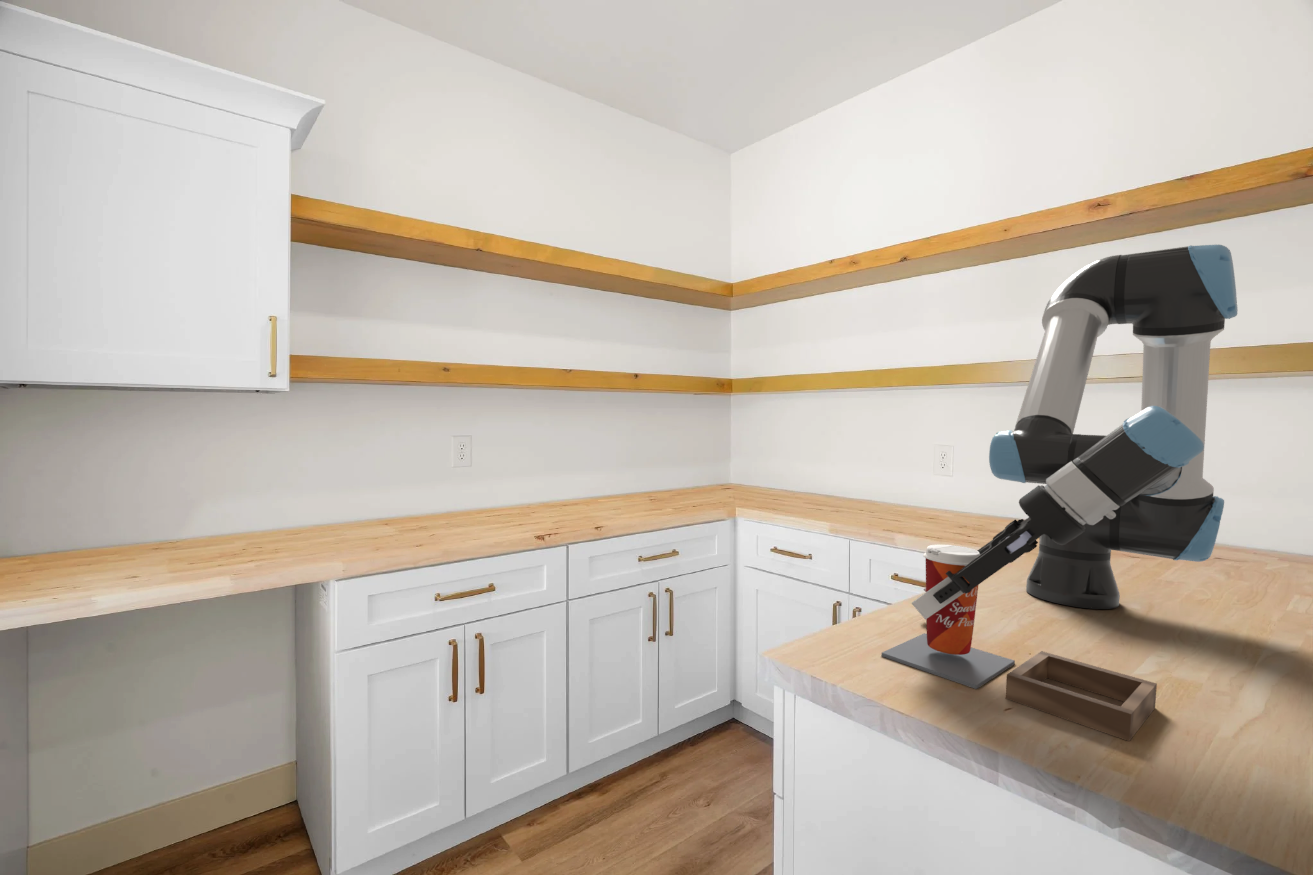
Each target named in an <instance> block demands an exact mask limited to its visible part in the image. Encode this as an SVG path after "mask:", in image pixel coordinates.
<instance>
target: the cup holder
mask: <svg viewBox="0 0 1313 875" xmlns="http://www.w3.org/2000/svg"><path fill="white" fill-rule="evenodd" d="M1046 679H1050V680H1052V681H1055V682H1059V683H1062V684H1066V685H1069V686H1072V687H1076V688H1079V689H1082V690H1084V691H1088V692H1091V693H1094V694H1098V695H1100V696H1104V697H1108V698H1110V699H1113V700H1116V701H1117V700H1118V701H1121V702H1123V703H1122V704H1121V705H1120V706H1119V705H1116V704H1113V703H1110V702H1107V701H1104V700H1100V699H1099V698H1098V699H1097V698H1094V697H1091V696H1088V695H1084V694H1083V693H1082V694H1081V693H1079V692H1075V691H1072V690H1068V689H1066V688H1062V687H1059V686H1057V685H1053V684H1050V683H1047V682H1044V681H1045V680H1046ZM1157 687H1158V683H1157V682H1153V681H1150V680H1149V681H1148V680H1145V679H1142V678H1138V677H1135V676H1133V675H1132V676H1131V675H1128V674H1124V673H1121V672H1118V671H1114V670H1110V669H1107V668H1104V667H1103V668H1102V667H1099V666H1096V665H1093V664H1088V663H1085V662H1082V661H1078V660H1075V659H1071V658H1068V657H1064V656H1060V655H1058V654H1057V655H1056V654H1053V653H1050V652H1047V651H1043V650H1041V651H1039V652H1038V653H1037V654H1035V655H1033V656H1031V657H1030V658H1029V659H1028V660H1026V661H1025V662H1023V663H1021V664H1020V665H1018V666H1017V667H1016V668H1014V669H1012V670H1011V671H1009V673H1007V674H1006V680H1005V696H1004V697H1005V699H1006V700H1009V701H1012V702H1015V703H1018V704H1020V705H1024V706H1027V707H1029V708H1032V709H1035V710H1039V711H1041V712H1044V713H1047V714H1050V715H1052V716H1055V717H1059V718H1060V719H1064V720H1067V721H1070V722H1072V723H1076V724H1078V725H1081V726H1084V727H1087V728H1090V729H1092V730H1096V731H1099V732H1102V733H1104V734H1107V735H1110V736H1113V737H1116V738H1119V739H1122V740H1125V741H1128V742H1130V741H1131V740H1132V738H1133V737H1134V736H1135V735H1136V733H1137V732H1138V731H1139V729H1140V728H1141V727H1142V725H1144V722H1146V720H1147V719H1148V718H1149V717H1150V715H1151V714H1152V712H1154V710H1155V709H1156V701H1157V700H1156V698H1157Z"/></svg>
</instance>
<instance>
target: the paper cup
mask: <svg viewBox="0 0 1313 875" xmlns="http://www.w3.org/2000/svg"><path fill="white" fill-rule="evenodd" d="M977 550H978V549H974V548H970V547H966V546H960V545H953V544H952V545H951V544H930V545H928V546H927V547H926V551H925V552H924V553H923V555H922V556H923V558H925V588H926V592H927V591H929V590H930V589H931V588H933V587H934V586H936V585H937V584H938V583H940V582H941V581H943V580H944V579H946V578H947V577H948V576H947V575H946V573H947V572H948V571H951V572H952V574H955V573H957V572H958V571H959V570H961V569H962V568H963V567H965V566H966V565H967V564H969V563H970V562H971V561H973V560H974V559H975V558H977V557H978V556H979V555H980V553H979V552H978V551H977ZM962 577H963V576H962ZM963 578H964V577H963ZM964 579H965V578H964ZM965 580H966V579H965ZM966 581H967V580H966ZM967 582H968V581H967ZM968 583H969V582H968ZM978 591H979V585H977V586H976V587H974V588H973V589H972V590H971V591H970V592H969V593H964V594H962V595H961V596H959V597H958V598H956V599H955V600H953V601H952V602H950V603H949V604H947V605H946V606H945V607H943V608H942V609H940V610H939V611H937V612H936V613H934V614H933V615H931V616H930V617H929V618H927V619H926V622H925V623H926V624H925V625H926V634H927V644H928V646H929V647H930V648H932V649H934V650H937V651H939V652H943V653H947V654H954V655H963V654H968V653H969V652H970V649H971V647H972V642H973V634H974V626H975V618H976V609H977V600H978ZM926 592H925V593H926Z"/></svg>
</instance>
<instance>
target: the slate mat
mask: <svg viewBox="0 0 1313 875" xmlns="http://www.w3.org/2000/svg"><path fill="white" fill-rule="evenodd" d="M881 657H883V658H885V659H886V658H887V659H888V660H892V661H894V662H897V663H900V664H903V665H906V666H909V667H912V668H914V669H917V670H920V671H923V672H925V673H929V674H932V675H935V676H938V677H940V678H943V679H945V680H949V681H952V682H954V683H958V684H961V685H964V686H966V687H969V688H971V689H975V690H977V689H979V688H980V687H982V686H983V685H985V684H986V683H988V682H989V681H991V680H993V679H994V678H995V677H997V676H999V675H1000V674H1002V673H1003V672H1005V671H1006V670H1008V669H1010V668H1011V667H1012V666H1014V665H1015V664H1016V663H1015V661H1016V660H1015V659H1012V658H1008V657H1004V656H1001V655H998V654H994V653H991V652H988V651H984V650H981V649H978V648H975V647H972V646H971V649H970V652H969V653H968V654H963V655H954V654H947V653H943V652H939V651H937V650H934V649H932V648H930V647H929V646H928V644H927V633H926V632H924V633H922V634H919V635H917V636H915V637H913V638H910V639H908V640H906V641H905V642H902V643H899V644H896V645H895V646H893V647H891V648H889V649H886V650H883V651H882V652H881Z"/></svg>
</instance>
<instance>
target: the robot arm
mask: <svg viewBox="0 0 1313 875" xmlns="http://www.w3.org/2000/svg"><path fill="white" fill-rule="evenodd" d="M1233 262H1234V261H1233V256H1232V252H1231V250H1230V248H1229V247H1227V246H1225V245H1222V244H1205V245H1204V244H1203V245H1188V246H1181V247H1180V246H1179V247H1173V248H1166V249H1158V250H1152V251H1145V252H1137V253H1128V254H1117V255H1111V256H1106V257H1104V258H1100V259H1098V260H1095V261H1093V262H1090V263H1089V264H1087V265H1085V266H1084V267H1082V268H1081V269H1079V270H1077V271H1075V273H1072V275H1071V276H1069V277H1068V278H1067V279H1066V280H1065V281H1064V282H1063V283H1062V284H1061V285H1060V286H1059V287H1058V288H1057V289H1056V290H1055V291H1054V292H1053V294H1052V296H1051V297H1050V298H1049V300H1048V302H1047V303H1046V306H1045V307H1044V308H1045V309H1044V311H1043V314H1042V319H1041V324H1042V325H1041V326H1042V328H1043V330H1044V334H1043V337H1042V340H1041V343H1040V347H1039V350H1038V353H1037V356H1036V359H1035V363H1034V365H1033V369H1032V372H1031V375H1030V378H1029V382H1028V384H1027V388H1026V390H1025V393H1024V397H1023V400H1022V403H1021V407H1020V409H1019V413H1018V416H1017V420H1016V423H1015V426H1014V429H1013V430H1012V429H1010V430H1009V429H1008V430H1003V431H1002V430H999V431H997V432H996V433H995V434H994V435H993V437H992V439H991V442H990V445H989V453H988V462H989V467H990V471H991V473H992V475H993V476H994V477H995V478H997V479H1000V480H1003V481H1004V480H1005V481H1011V482H1017V483H1021V484H1026V483H1029V484H1030V483H1031V484H1038V485H1037V486H1035V487H1034V488H1033V489H1031V490H1030V491H1029V492H1027V493H1026V494H1025V495H1023V496H1022V497H1021V498H1020V499H1019V500H1018V505H1019V507H1020V508H1021V510H1022V511H1023V513H1024V514H1026V515H1027V518H1026V519H1023V518H1022V519H1018V520H1017V519H1014V520H1012V521H1011V522H1009V523H1008V524H1007V525H1006V526H1005V527H1004V529H1002V530H1001V531H1000V532H998V533H997V534H995V535H994V536H993V538H992V539H991V540H990V541H988V542H987V543H986V544H984V545H983V546H982V547H980V548H978V549H976V550H977V551H978V552H979V553H980V555H979V556H978V557H977V558H975V559H974V560H973V561H971V562H970V563H969V564H967V565H966V566H965V567H963V568H962V569H961V570H959V571H958V572H957V573H955V574H952V572H951V571H948V572H947V573H946V575H947V576H948V577H947V578H946V579H944V580H943V581H941V582H940V583H938V584H937V585H936V586H934V587H933V588H931V589H930V590H929V591H927V592H926V587H925V588H923V591H924V593H923V594H922V595H920V596H918V597H917V598H916V599H915V600H913V601H912V602H911V605H912V606H913V607H914V608H915V610H916V611H918V613H919V614H920V615H921V616H922V617H923V618H924V621H925V620H926V619H927V618H929V617H930V616H931V615H933V614H934V613H936V612H937V611H939V610H940V609H942V608H943V607H945V606H946V605H947V604H949V603H950V602H952V601H953V600H955V599H956V598H958V597H959V596H961V595H962V594H964V593H969V592H970V591H971V590H972V589H973V588H974V587H976V586H977V585H978V586H979V585H981V583H983V582H985V581H986V580H987V579H988V578H990V577H991V576H993V575H994V574H996V573H997V572H999V571H1000V570H1001V569H1003V568H1004V567H1006V566H1007V565H1009V564H1012V563H1014V561H1016V560H1017V559H1019V558H1020V557H1022V555H1024V554H1028V553H1030V552H1031V551H1033V550H1034V549H1036V548H1037V547H1038V554H1037V556H1036V559H1035V560H1034V563H1033V565H1032V568H1031V570H1030V572H1029V574H1028V576H1027V579H1026V586H1025V588H1026V589H1025V591H1026V592H1027V593H1028V594H1029V595H1031V596H1033V597H1036V598H1038V599H1040V600H1044V601H1048V602H1050V603H1055V604H1058V605H1059V604H1060V605H1063V606H1068V607H1074V608H1075V607H1076V608H1082V609H1094V610H1111V609H1116V608H1119V606H1120V600H1121V599H1120V598H1121V597H1120V595H1121V594H1120V590H1119V588H1118V584H1117V581H1116V579H1115V575H1114V572H1113V569H1112V564H1111V557H1112V554H1111V553H1112V551H1117V552H1118V551H1119V552H1123V553H1130V554H1131V553H1132V554H1137V555H1144V556H1148V557H1149V556H1151V557H1155V558H1156V557H1157V558H1164V559H1171V560H1173V561H1188V562H1196V563H1197V562H1198V563H1199V562H1205V561H1207V560H1208V559H1210V558H1211V556H1212V554H1213V551H1214V548H1215V544H1216V542H1217V538H1218V533H1219V529H1220V525H1221V521H1222V515H1223V512H1224V508H1225V507H1224V506H1225V499H1223V498H1222V497H1219V496H1218V495H1214V491H1215V489H1214V486H1213V485H1212V484H1211V483H1210V482H1208V480H1206V479H1205V478H1204V477H1203V476H1204V460H1205V444H1206V443H1205V441H1206V439H1205V438H1206V429H1207V428H1206V427H1207V426H1206V425H1207V411H1208V410H1207V409H1208V408H1207V406H1208V390H1209V377H1210V375H1209V374H1210V357H1211V343H1212V341H1213V339H1214V338H1215V337H1216V336H1218V335H1219V334H1220V333H1222V332H1223V331H1224V330H1225V324H1226V319H1227V320H1230V319H1233V318H1236V317H1237V316H1238V304H1237V303H1238V300H1237V299H1238V298H1237V287H1236V277H1235V269H1234V263H1233ZM1124 324H1125V325H1127V324H1128V325H1129V324H1131V325H1132V335H1133V336H1134V337H1135V338H1136V339H1138V340H1139V341H1141V343H1142V344H1143V350H1142V352H1143V353H1142V375H1141V376H1142V377H1141V378H1142V379H1141V380H1142V382H1141V383H1142V384H1141V409H1140V411H1139V412H1137V413H1136V414H1135V415H1133V416H1131V417H1128V418H1126V419H1125V420H1124V421H1123V422H1122V423H1121V424H1120V425H1119V426H1118V427H1116V428H1115V429H1114V430H1113V431H1111V432H1109V434H1107V435H1102V434H1101V435H1099V434H1097V435H1096V434H1081V433H1079V434H1075V433H1074V431H1075V428H1076V423H1077V420H1078V414H1079V411H1080V407H1081V404H1082V400H1083V395H1084V392H1085V387H1086V384H1087V379H1088V376H1089V372H1090V368H1091V363H1092V360H1093V356H1094V353H1095V348H1096V345H1097V342H1098V341H1097V340H1098V338H1099V337H1100V336H1101V335H1102V334H1103V333H1105V331H1106V330H1107V329H1108V327H1109V326H1111V325H1124ZM1039 484H1042V485H1039ZM1044 485H1045V486H1044ZM1038 539H1039V540H1038ZM1037 540H1038V541H1039V542H1038V541H1037ZM962 576H963V577H964V578H965V579H966V580H967V581H968V582H969V583H968V582H967V581H966V580H965V579H964V578H963V577H962Z"/></svg>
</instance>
